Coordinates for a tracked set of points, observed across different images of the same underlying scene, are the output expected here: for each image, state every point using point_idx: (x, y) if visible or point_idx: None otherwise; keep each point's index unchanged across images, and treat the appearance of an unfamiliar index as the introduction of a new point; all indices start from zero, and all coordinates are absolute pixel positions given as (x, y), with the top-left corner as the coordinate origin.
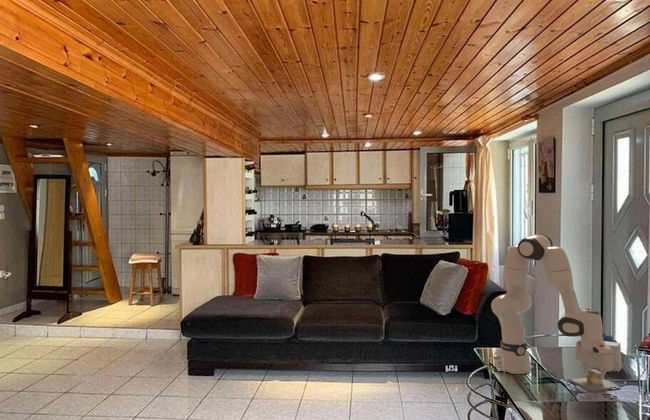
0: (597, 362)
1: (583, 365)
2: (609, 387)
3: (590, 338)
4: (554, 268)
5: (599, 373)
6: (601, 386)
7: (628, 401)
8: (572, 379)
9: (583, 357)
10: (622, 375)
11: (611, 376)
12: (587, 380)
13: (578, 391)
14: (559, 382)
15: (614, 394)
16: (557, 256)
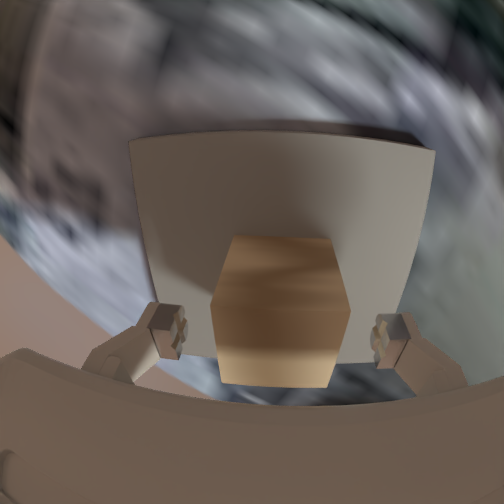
0: (73, 452)
1: (432, 361)
2: (158, 294)
3: None
4: None
5: (219, 361)
6: (184, 262)
7: (22, 243)
8: (428, 166)
9: (441, 469)
10: None
11: (347, 403)
12: (320, 245)
13: (183, 36)
14: (440, 50)
15: (91, 252)
16: None
